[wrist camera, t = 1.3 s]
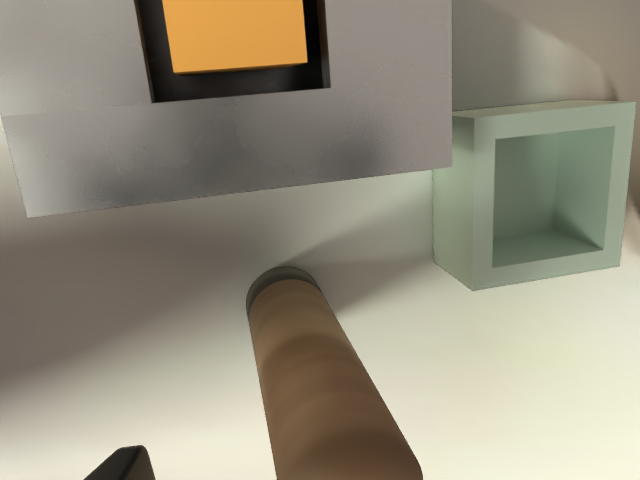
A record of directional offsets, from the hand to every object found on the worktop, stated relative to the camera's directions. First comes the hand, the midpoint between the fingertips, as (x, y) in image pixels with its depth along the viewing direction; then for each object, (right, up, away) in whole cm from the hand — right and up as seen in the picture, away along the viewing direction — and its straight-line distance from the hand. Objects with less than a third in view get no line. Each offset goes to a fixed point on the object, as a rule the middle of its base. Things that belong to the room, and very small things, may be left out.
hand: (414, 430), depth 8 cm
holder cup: (+6, +6, +14) cm, 16 cm away
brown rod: (-3, +1, +13) cm, 13 cm away
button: (-4, +10, +7) cm, 13 cm away
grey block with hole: (-5, +11, +10) cm, 15 cm away
